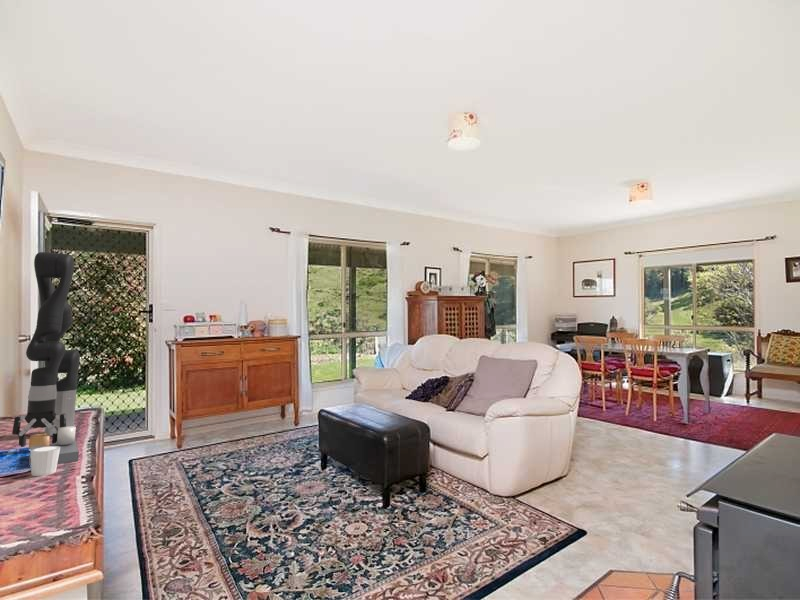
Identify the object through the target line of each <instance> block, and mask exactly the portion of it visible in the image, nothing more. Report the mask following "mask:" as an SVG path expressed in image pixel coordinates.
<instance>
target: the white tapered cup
mask: <svg viewBox="0 0 800 600" xmlns="http://www.w3.org/2000/svg"><path fill="white" fill-rule="evenodd" d="M59 452H60V447H59V446H47V447H40V448H36V449H33V450H31V468H30V469H31V470H30V473H31V476H32V477H43V476H48V475H52V474H55V473H56V471H57V466H58V464H57V463H58V457H59Z"/></svg>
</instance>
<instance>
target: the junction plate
mask: <svg viewBox="0 0 800 600" xmlns="http://www.w3.org/2000/svg"><path fill="white" fill-rule="evenodd" d="M76 429H77V427H76V426H75V425H74V426H68V427H61V428H58V435H57V443H54V444H52V443H50V439H51V436H43V437H42V440H41V445H37V446H31V450H33V449H36V448H40V447H47V446H59V447H60V452H59V457H58V463H57V465H59V464H65V463H66V464H67V463H73V462H78V461H79V451H80V450H79V446H78V443H77V440H76ZM29 465H31V451H30V452H29V460H28V466H29Z"/></svg>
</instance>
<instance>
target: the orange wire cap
mask: <svg viewBox="0 0 800 600" xmlns="http://www.w3.org/2000/svg"><path fill="white" fill-rule="evenodd" d="M43 436H48V434H44V433H36V434H35V433H34V434H32V435H30V437H29V440H28V449H29V448H30V449H31V446H37V445H41V440H42V437H43Z"/></svg>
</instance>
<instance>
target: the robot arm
mask: <svg viewBox="0 0 800 600" xmlns="http://www.w3.org/2000/svg"><path fill="white" fill-rule="evenodd" d="M33 266H34V273H35V278H36V283H37V288H38V293H39V303H40V307H39V310H38V311H37V318H36V319H37V320H36V326H35V330H34V334H33V335H32V338H31V339H30V342H29V344H28V346H27V347H26V351H25V355H26V358H27V359H28V360H29V361H32V362H44V366H43V367H42V366H41V367H38V368H34V369H32V371H31V376H30V385H29V386H30V387H29V391H28V397H27V399H28V400H27V411H26V415H24V416H23V415H17V416H16V417H14V419H13V424H12V425H13V427H12V433H11V434H12V435H17V436H18V446H20V448H24V447H25V446H26V444H27V434H26V433H28V431H30V430H31V429H32V428H33V429H38V428H40V429H42V428H44V429H43V430H44V431H43V434H48V436H50V437H52V439H51V444H54V443H57V435H58V428H61V427H68V426H75V417H76V416H75V415H76V414H75V413H76V404H77V403H76V401H77V390H78V389H77V386H78V377H79V370H80V369H79V368H80V362H81V354H80V352H79V351H78V350H74V349H71V350H70V349H69V350H68V349H66V345H65V343H63V342H61V341H60V339H61V338H62V337H63V336H64V335H65V334H66V332H67V331H68V330H69V329H70V328H71V326H72V323H73V314H72V313H73V311H72V307H71V305H70V303H69V302H68V300H67V298H68V295H69V292H70V287H71V284H72V280H73V276H74V272H75V260H74V257H73V256H72V255H71V254H69V253H60V252H58V253H57V252H47V251H46V252H45V251H44V252H43V251H40V252H37V253H36V254H35V256H34V262H33ZM52 279H59V282H58V285H57V287H56V288H55V286H54V284H53V283H52ZM58 374H66V376H65V377H64V378H62V379H59V380H58ZM24 421H25V422H26V423H27V424H26V425H25V426H24V427H23V428H22V430H21V425H22V423H23V422H24Z"/></svg>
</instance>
